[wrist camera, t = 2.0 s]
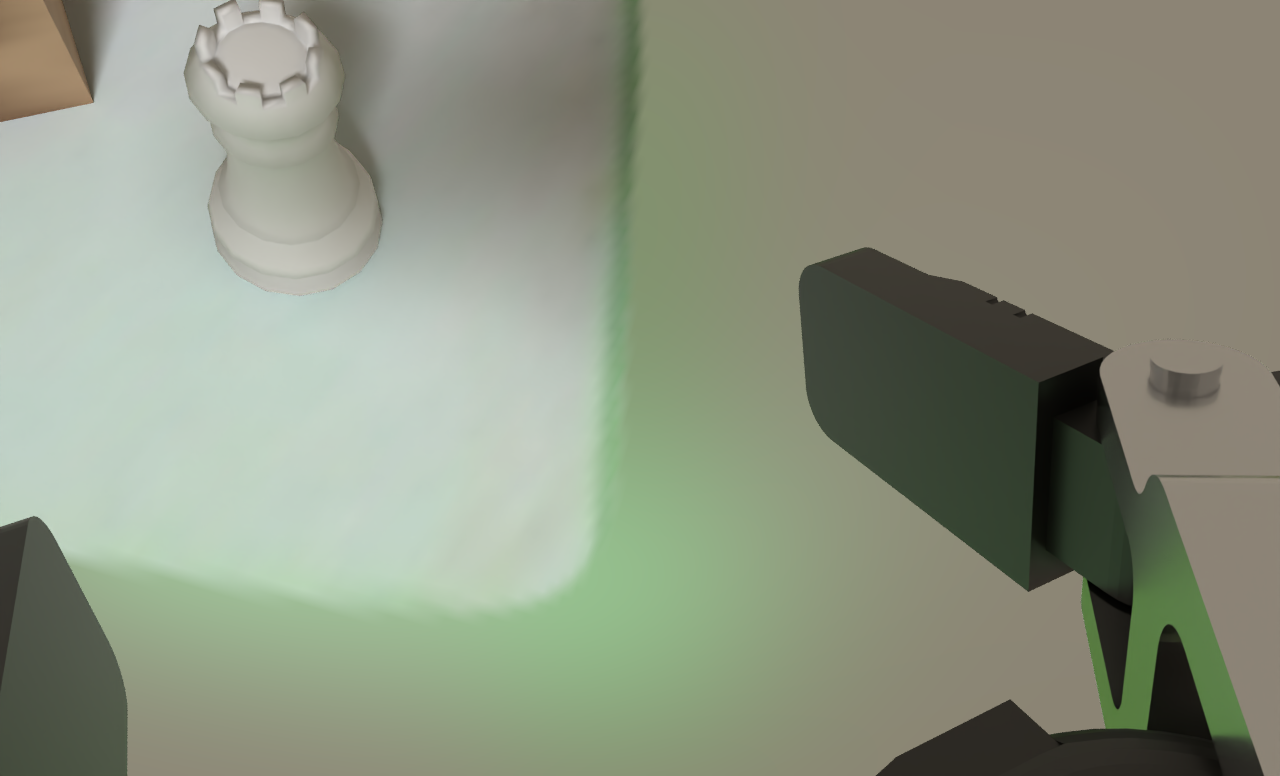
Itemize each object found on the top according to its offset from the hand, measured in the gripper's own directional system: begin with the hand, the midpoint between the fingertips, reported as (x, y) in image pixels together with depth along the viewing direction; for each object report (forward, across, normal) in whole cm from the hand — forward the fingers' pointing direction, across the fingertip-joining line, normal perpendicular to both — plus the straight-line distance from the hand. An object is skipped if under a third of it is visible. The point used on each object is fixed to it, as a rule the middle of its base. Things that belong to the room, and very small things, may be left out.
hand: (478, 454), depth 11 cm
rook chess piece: (+20, 0, +3) cm, 20 cm away
